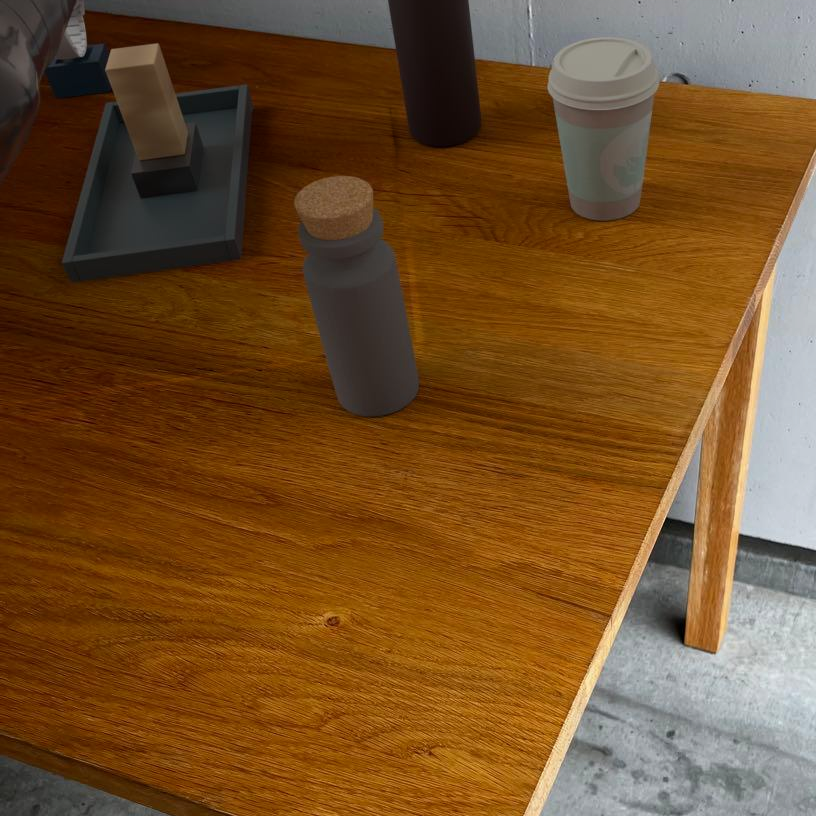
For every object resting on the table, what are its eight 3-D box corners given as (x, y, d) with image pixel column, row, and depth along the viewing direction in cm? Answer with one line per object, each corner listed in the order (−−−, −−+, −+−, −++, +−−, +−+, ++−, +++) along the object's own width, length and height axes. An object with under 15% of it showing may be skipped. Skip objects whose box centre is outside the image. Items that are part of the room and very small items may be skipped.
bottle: (406, 354, 76) (367, 161, 65) (430, 402, 72) (393, 207, 61) (328, 377, 75) (274, 184, 64) (348, 427, 71) (295, 232, 60)
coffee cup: (596, 243, 84) (593, 96, 75) (534, 200, 89) (523, 57, 80) (678, 204, 87) (684, 58, 78) (613, 165, 92) (611, 23, 83)
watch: (118, 65, 112) (78, -47, 104) (107, 99, 107) (63, -15, 98) (65, 71, 112) (20, -40, 104) (51, 106, 106) (3, -8, 98)
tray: (73, 288, 84) (61, 262, 83) (114, 126, 103) (105, 102, 101) (242, 264, 85) (234, 238, 83) (254, 108, 103) (247, 83, 102)
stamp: (140, 198, 92) (95, 81, 84) (149, 153, 97) (107, 39, 90) (197, 191, 92) (157, 73, 84) (203, 146, 98) (166, 32, 90)
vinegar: (497, 126, 98) (473, -116, 83) (444, 156, 95) (409, -91, 80) (447, 106, 101) (416, -131, 86) (394, 134, 98) (353, -107, 83)
